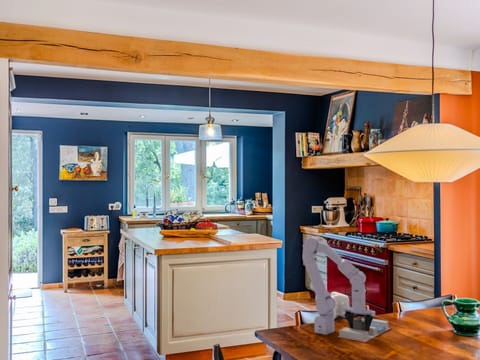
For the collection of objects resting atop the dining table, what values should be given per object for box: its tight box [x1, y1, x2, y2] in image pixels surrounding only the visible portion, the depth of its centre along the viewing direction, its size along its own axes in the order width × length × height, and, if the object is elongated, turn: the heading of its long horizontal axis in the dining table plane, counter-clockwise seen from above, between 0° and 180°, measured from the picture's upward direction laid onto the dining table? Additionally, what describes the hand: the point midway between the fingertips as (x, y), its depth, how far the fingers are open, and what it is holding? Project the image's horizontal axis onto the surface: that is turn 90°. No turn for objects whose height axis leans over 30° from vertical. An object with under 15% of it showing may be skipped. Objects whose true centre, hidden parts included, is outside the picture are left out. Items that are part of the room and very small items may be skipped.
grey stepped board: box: [337, 318, 391, 343], centre depth 218 cm, size 26×13×4 cm, turn 139°
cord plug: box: [353, 315, 366, 331], centre depth 214 cm, size 4×4×8 cm
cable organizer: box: [330, 291, 350, 320], centre depth 250 cm, size 15×11×12 cm
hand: (359, 330), depth 214 cm, fingers open, 7 cm apart
